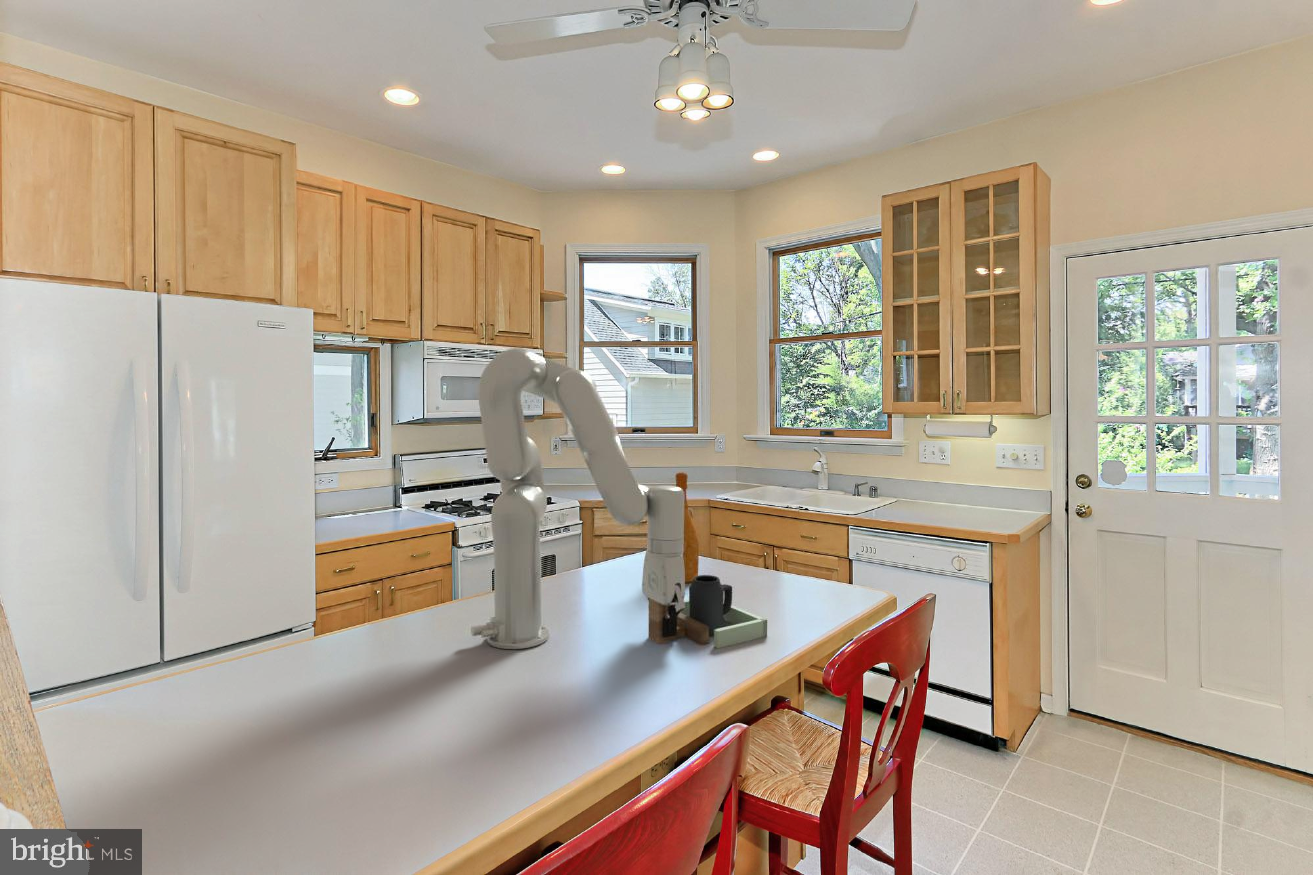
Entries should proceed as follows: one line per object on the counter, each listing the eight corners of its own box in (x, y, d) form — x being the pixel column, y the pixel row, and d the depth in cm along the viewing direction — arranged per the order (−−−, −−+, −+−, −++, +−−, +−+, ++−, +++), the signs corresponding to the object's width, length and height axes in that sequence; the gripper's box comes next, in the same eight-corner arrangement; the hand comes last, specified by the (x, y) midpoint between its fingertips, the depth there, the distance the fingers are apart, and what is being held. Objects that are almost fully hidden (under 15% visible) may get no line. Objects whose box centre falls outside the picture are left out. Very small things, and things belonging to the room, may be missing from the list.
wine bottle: (699, 584, 178) (700, 474, 176) (663, 584, 178) (663, 474, 176) (697, 575, 187) (698, 470, 186) (663, 574, 188) (664, 470, 186)
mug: (706, 639, 136) (706, 586, 136) (676, 628, 143) (676, 577, 142) (744, 627, 144) (745, 576, 144) (714, 616, 151) (715, 568, 150)
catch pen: (717, 648, 131) (717, 631, 131) (662, 619, 149) (662, 604, 148) (767, 636, 138) (767, 619, 138) (708, 610, 156) (708, 595, 155)
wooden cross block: (671, 651, 130) (672, 607, 129) (636, 630, 141) (636, 589, 141) (708, 643, 134) (708, 600, 134) (671, 623, 146) (671, 583, 146)
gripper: (629, 539, 141) (627, 623, 142) (672, 556, 127) (670, 648, 128) (659, 536, 145) (657, 618, 146) (703, 552, 131) (701, 642, 132)
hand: (663, 631), depth 137 cm, fingers closed on wooden cross block, 4 cm apart
